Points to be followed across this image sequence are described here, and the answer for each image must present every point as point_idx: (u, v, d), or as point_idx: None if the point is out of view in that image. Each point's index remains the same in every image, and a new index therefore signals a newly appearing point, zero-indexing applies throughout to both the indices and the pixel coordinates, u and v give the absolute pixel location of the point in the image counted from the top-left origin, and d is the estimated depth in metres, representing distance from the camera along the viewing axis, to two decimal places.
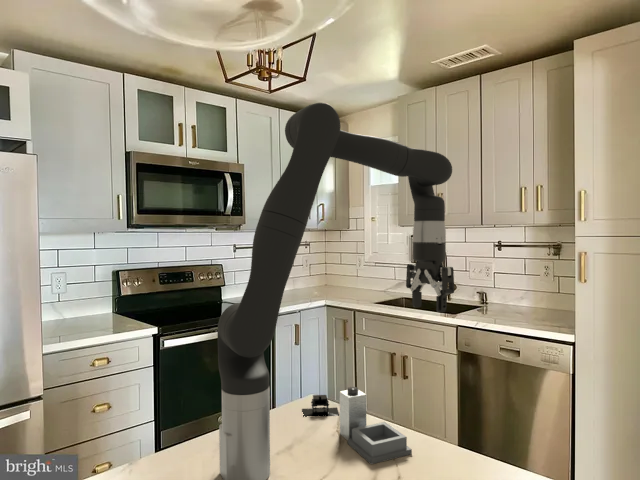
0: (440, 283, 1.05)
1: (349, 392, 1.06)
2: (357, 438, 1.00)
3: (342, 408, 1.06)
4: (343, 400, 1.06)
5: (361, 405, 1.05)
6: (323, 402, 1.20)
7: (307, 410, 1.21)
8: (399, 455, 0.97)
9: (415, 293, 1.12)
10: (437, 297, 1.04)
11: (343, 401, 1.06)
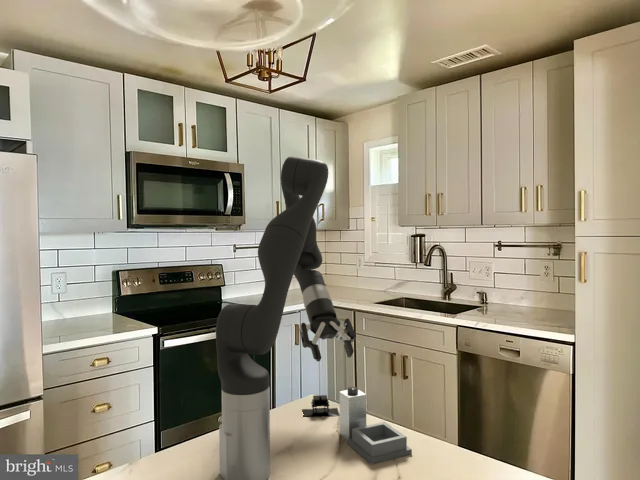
0: None
1: (349, 392, 1.06)
2: (357, 438, 1.00)
3: (342, 408, 1.06)
4: (343, 400, 1.06)
5: (361, 405, 1.05)
6: (323, 402, 1.20)
7: (307, 411, 1.21)
8: (399, 455, 0.97)
9: None
10: (347, 342, 1.19)
11: (343, 401, 1.06)
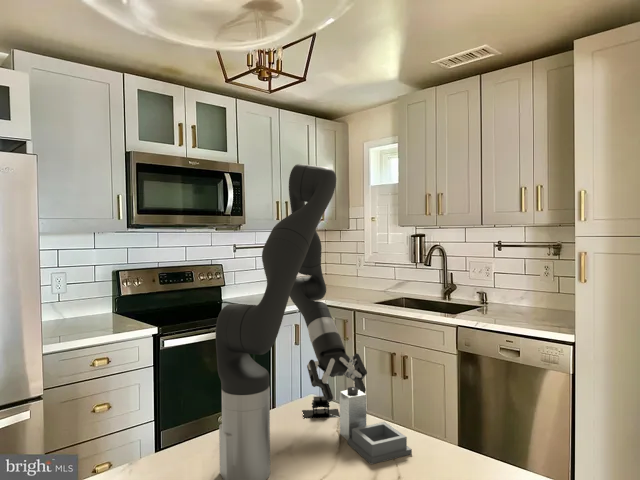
0: None
1: (349, 392, 1.06)
2: (357, 438, 1.00)
3: (342, 408, 1.06)
4: (343, 400, 1.06)
5: (361, 405, 1.05)
6: (324, 403, 1.19)
7: (308, 411, 1.20)
8: (399, 455, 0.97)
9: None
10: (359, 379, 1.12)
11: (343, 401, 1.06)
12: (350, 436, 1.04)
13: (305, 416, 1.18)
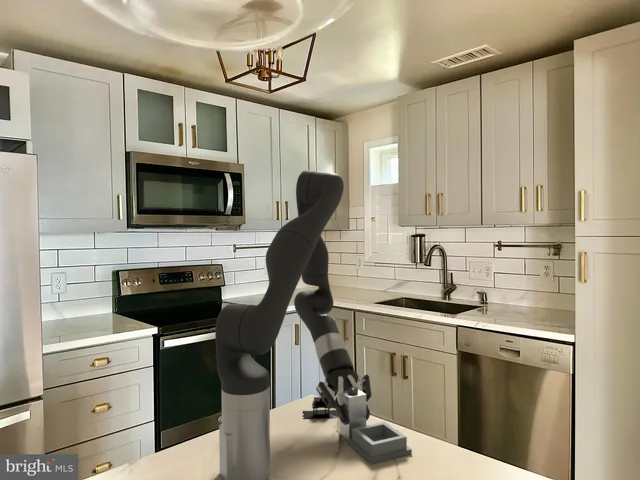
0: None
1: (349, 392, 1.06)
2: (357, 438, 1.00)
3: None
4: (343, 400, 1.06)
5: (361, 405, 1.05)
6: (324, 404, 1.19)
7: (308, 412, 1.20)
8: (399, 455, 0.97)
9: None
10: None
11: (343, 401, 1.06)
12: (350, 436, 1.04)
13: (305, 417, 1.17)
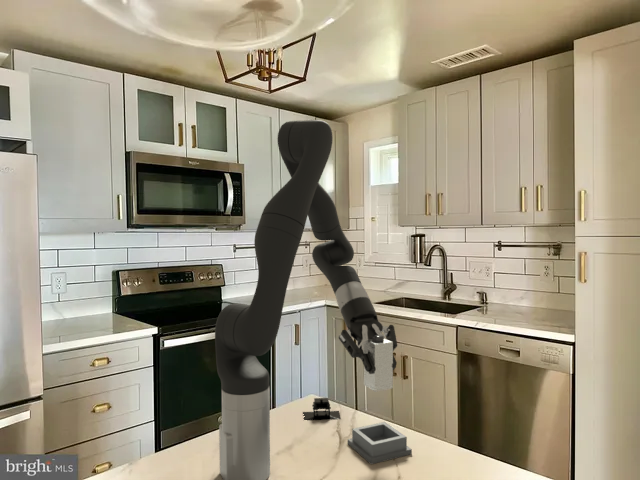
0: None
1: (374, 340, 0.99)
2: (357, 438, 1.00)
3: None
4: (368, 348, 0.99)
5: (387, 353, 0.98)
6: (324, 405, 1.18)
7: (308, 413, 1.19)
8: (399, 455, 0.97)
9: None
10: None
11: (368, 349, 0.99)
12: (376, 386, 0.97)
13: (306, 418, 1.16)
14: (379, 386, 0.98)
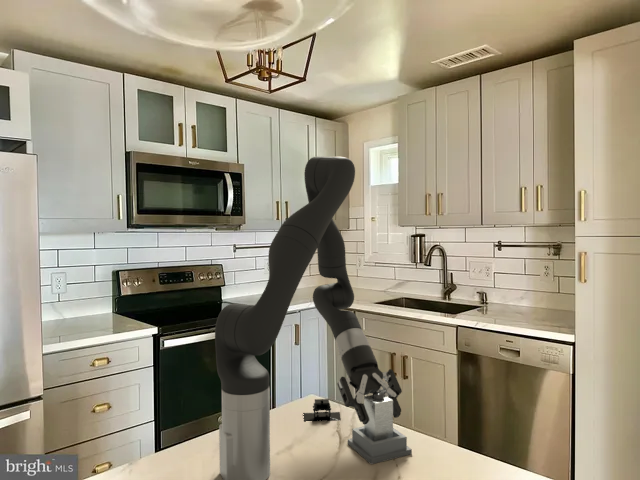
0: None
1: (375, 397, 0.99)
2: (357, 438, 1.00)
3: None
4: (368, 406, 1.00)
5: (387, 412, 0.99)
6: (325, 406, 1.17)
7: (309, 414, 1.18)
8: (399, 455, 0.97)
9: None
10: (393, 399, 1.02)
11: (368, 407, 1.00)
12: None
13: (306, 419, 1.16)
14: None
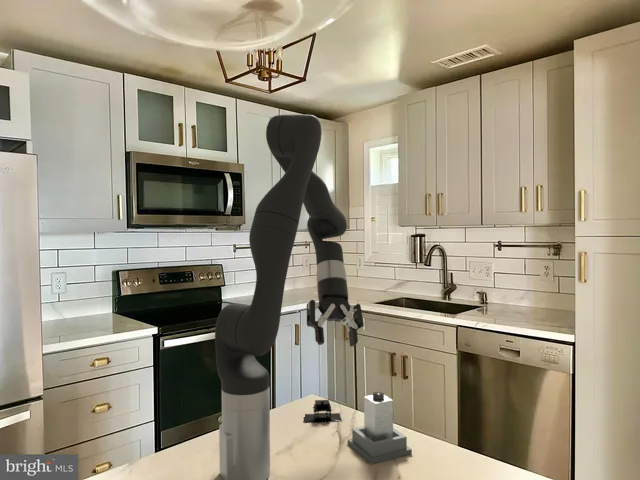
0: None
1: (375, 397, 0.99)
2: (357, 438, 1.00)
3: (367, 415, 1.00)
4: (368, 406, 1.00)
5: (387, 412, 0.99)
6: (325, 407, 1.17)
7: (309, 415, 1.18)
8: (399, 455, 0.97)
9: None
10: (354, 330, 1.12)
11: (368, 407, 1.00)
12: None
13: (306, 420, 1.15)
14: None
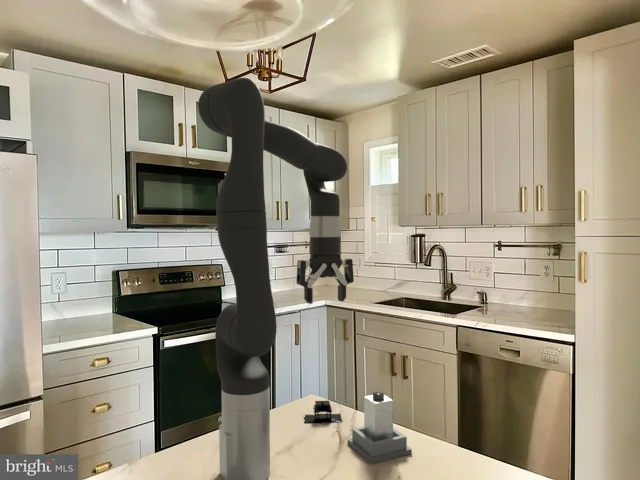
0: None
1: (375, 397, 0.99)
2: (357, 438, 1.00)
3: (367, 415, 1.00)
4: (368, 406, 1.00)
5: (387, 412, 0.99)
6: (326, 408, 1.16)
7: (309, 416, 1.17)
8: (399, 455, 0.97)
9: None
10: (343, 287, 1.13)
11: (368, 407, 1.00)
12: None
13: (306, 421, 1.15)
14: None
